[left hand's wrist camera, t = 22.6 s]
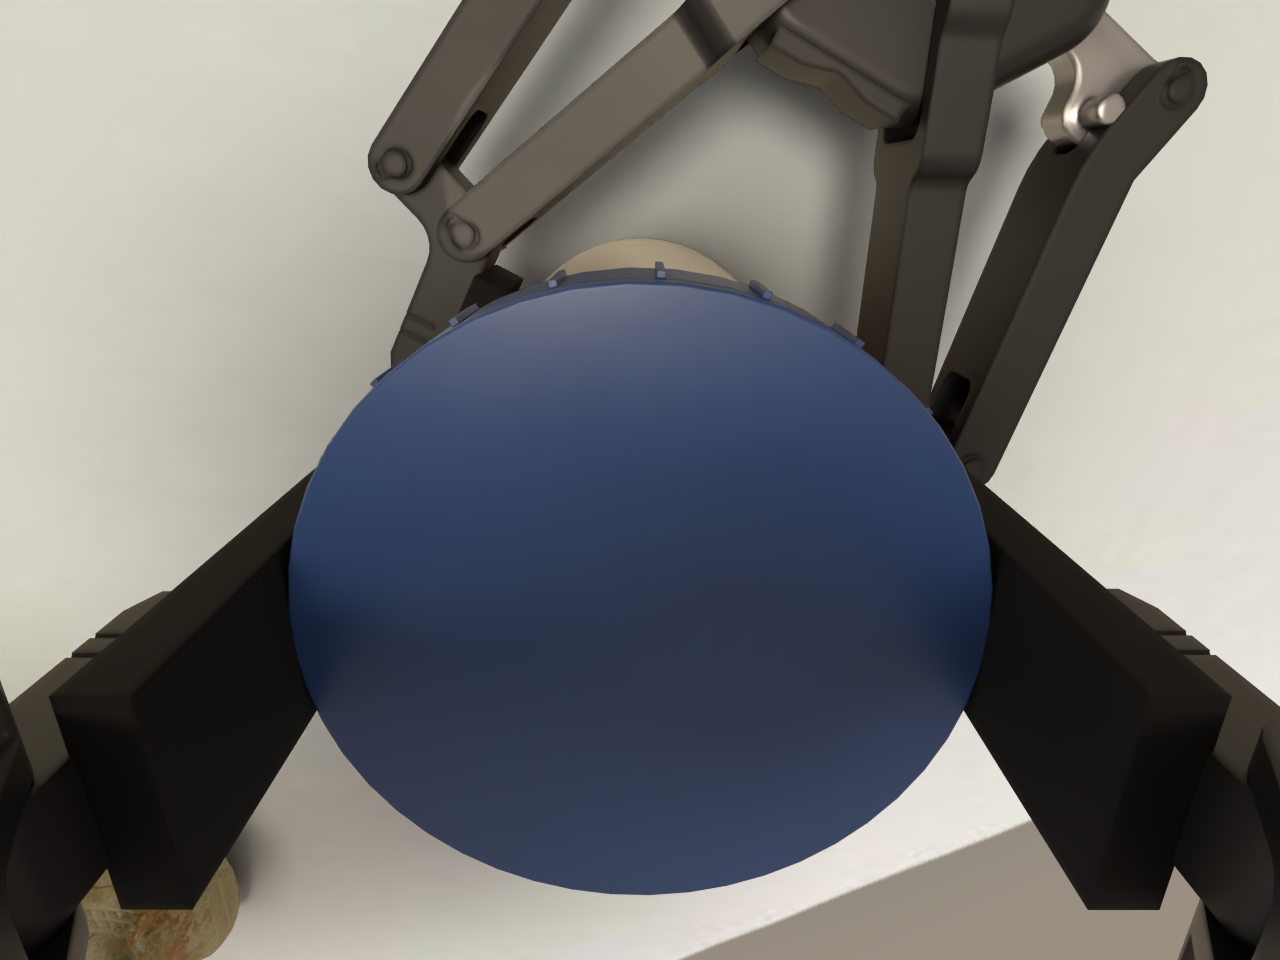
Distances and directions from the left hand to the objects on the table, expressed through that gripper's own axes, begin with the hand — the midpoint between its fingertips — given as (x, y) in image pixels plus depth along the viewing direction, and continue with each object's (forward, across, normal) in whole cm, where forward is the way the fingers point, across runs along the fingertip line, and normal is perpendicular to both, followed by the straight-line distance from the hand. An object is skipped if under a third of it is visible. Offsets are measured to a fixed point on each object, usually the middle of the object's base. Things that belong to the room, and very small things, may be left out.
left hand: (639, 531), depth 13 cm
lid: (-3, 0, 0) cm, 3 cm away
